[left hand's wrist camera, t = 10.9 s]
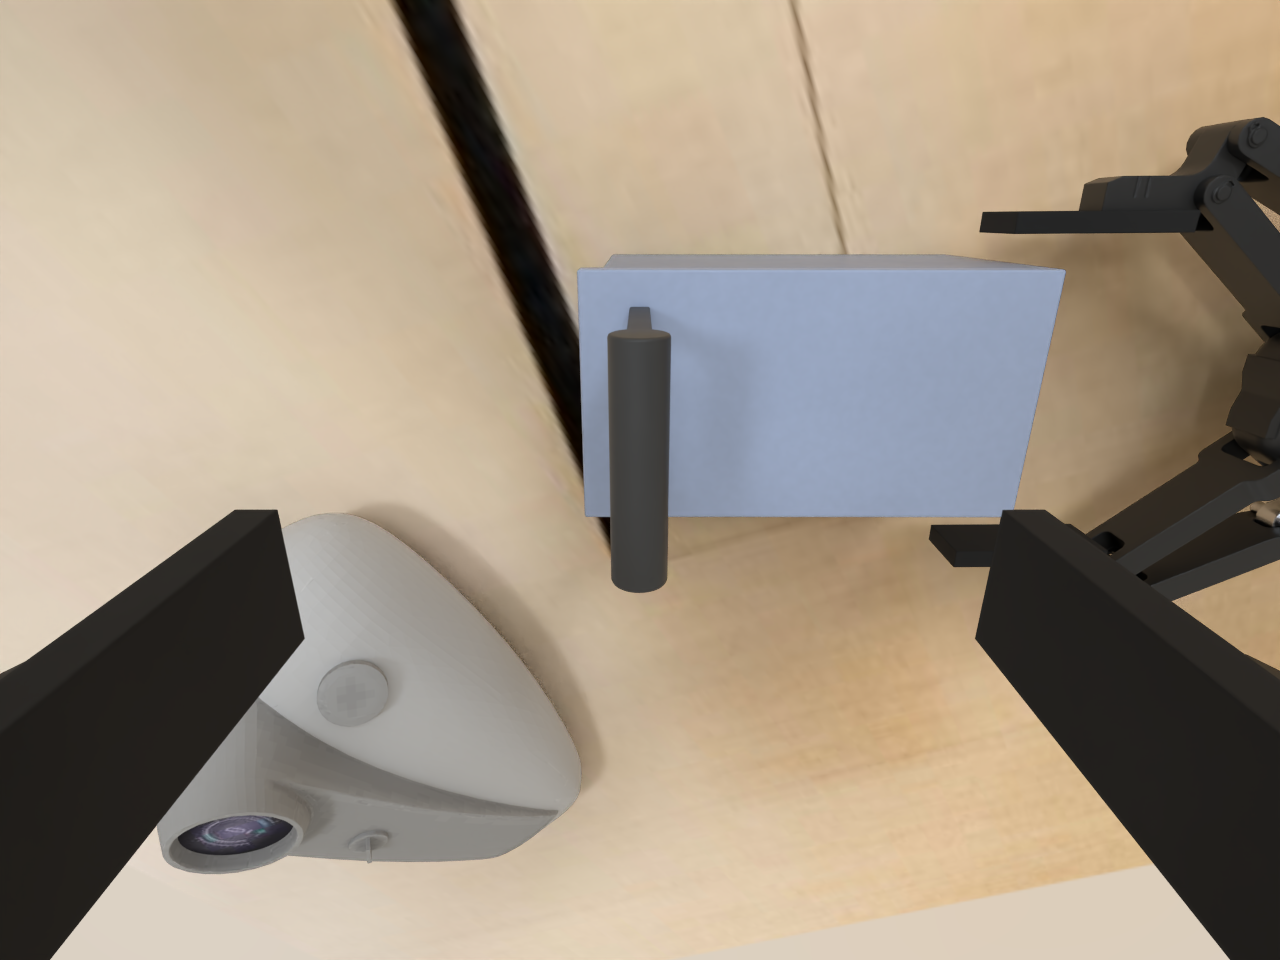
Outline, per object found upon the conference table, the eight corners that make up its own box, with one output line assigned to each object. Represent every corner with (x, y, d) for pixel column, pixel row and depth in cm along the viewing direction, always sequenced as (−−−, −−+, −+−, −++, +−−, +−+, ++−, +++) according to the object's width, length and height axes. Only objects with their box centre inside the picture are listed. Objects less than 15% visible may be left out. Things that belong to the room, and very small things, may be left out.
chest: (614, 440, 35) (607, 507, 27) (612, 254, 32) (602, 267, 24) (917, 440, 35) (999, 507, 27) (946, 254, 32) (1050, 267, 24)
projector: (245, 811, 44) (67, 1079, 30) (157, 484, 36) (-143, 650, 22) (585, 813, 44) (561, 1082, 30) (577, 488, 36) (537, 656, 22)
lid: (586, 507, 27) (564, 626, 19) (579, 267, 24) (548, 292, 16) (1000, 508, 27) (1147, 627, 19) (1051, 267, 23) (1254, 293, 16)
